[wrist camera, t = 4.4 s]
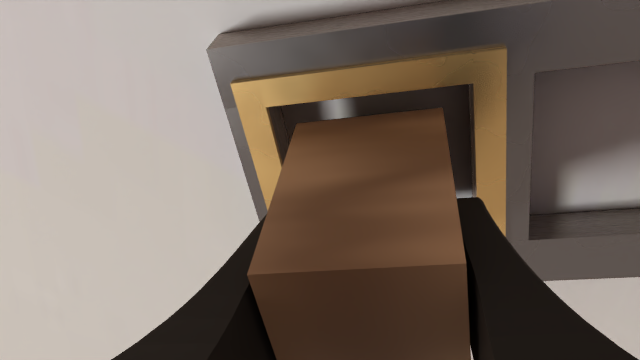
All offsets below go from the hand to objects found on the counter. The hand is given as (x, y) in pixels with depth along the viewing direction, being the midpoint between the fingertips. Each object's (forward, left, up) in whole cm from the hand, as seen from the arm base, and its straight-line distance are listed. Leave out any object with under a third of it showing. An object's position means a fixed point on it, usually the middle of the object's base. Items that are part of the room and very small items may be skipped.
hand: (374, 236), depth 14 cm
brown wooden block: (0, 0, -3) cm, 3 cm away
